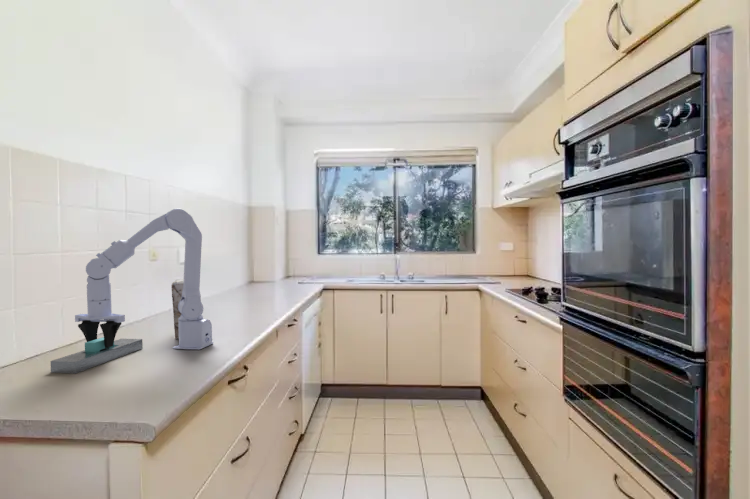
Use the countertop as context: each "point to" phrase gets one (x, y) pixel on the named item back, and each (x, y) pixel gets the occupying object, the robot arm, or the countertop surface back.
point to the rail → (94, 357)
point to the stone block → (176, 303)
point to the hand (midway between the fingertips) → (100, 346)
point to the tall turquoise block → (95, 346)
